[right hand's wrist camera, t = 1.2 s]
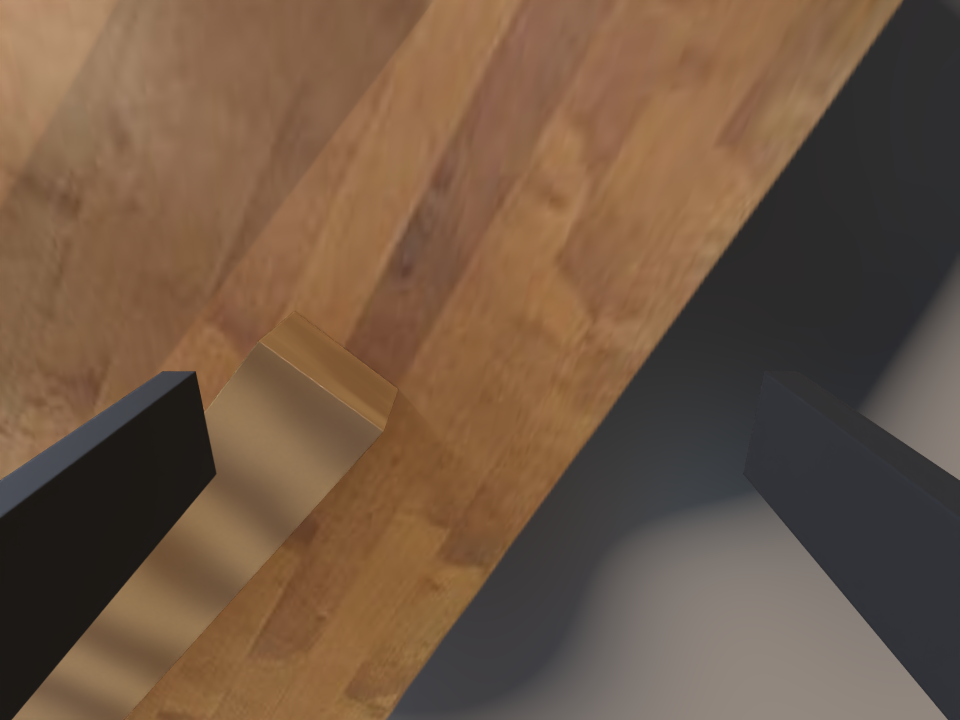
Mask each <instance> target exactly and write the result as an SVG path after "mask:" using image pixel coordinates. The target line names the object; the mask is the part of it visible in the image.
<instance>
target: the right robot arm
mask: <svg viewBox="0 0 960 720" xmlns="http://www.w3.org/2000/svg"><path fill="white" fill-rule="evenodd" d="M216 474H217V473H216V468H215V463H214V458H213V454H212V449H211V444H210V439H209V434H208V429H207V424H206V419H205V414H204V410H203V405H202V400H201V395H200V390H199V385H198V380H197V375H196V371H162V372H161V373H159V374H158V375H156V376H155V377H154V378H152V379H151V380H149V381H148V382H146V383H145V384H143V385H142V386H140V387H139V388H137V389H136V390H134V391H133V392H131V393H130V394H128V395H127V396H125V397H124V398H122V399H121V400H119V401H118V402H116V403H115V404H113V405H112V406H110V407H109V408H107V409H106V410H104V411H103V412H101V413H100V414H98V415H97V416H96V417H94V418H93V419H91V420H90V421H88V422H87V423H85V424H84V425H82V426H81V427H79V428H78V429H76V430H75V431H73V432H72V433H70V434H69V435H67V436H66V437H64V438H63V439H61V440H60V441H58V442H57V443H55V444H54V445H52V446H51V447H49V448H48V449H46V450H45V451H43V452H42V453H40V454H39V455H37V456H36V457H35V458H33V459H32V460H30V461H29V462H27V463H26V464H24V465H23V466H21V467H20V468H18V469H17V470H15V471H14V472H12V473H11V474H9V475H8V476H6V477H5V478H3V479H2V480H0V720H12V719H13V718H14V717H15V715H16V714H17V713H18V712H19V711H20V709H21V708H22V707H23V706H24V705H25V703H26V702H27V701H28V700H29V699H30V697H31V696H32V695H33V694H34V693H35V691H36V690H37V689H38V688H39V687H40V685H41V684H42V683H43V682H44V681H45V679H46V678H47V677H48V676H49V675H50V673H51V672H52V671H53V670H54V669H55V667H56V666H57V665H58V664H59V663H60V661H61V660H62V659H63V658H64V657H65V655H66V654H67V653H68V652H69V651H70V649H71V648H72V647H73V646H74V645H75V643H76V642H77V641H78V640H79V639H80V637H81V636H82V635H83V634H84V633H85V631H86V630H87V629H88V628H89V627H90V625H91V624H92V623H93V622H94V621H95V619H96V618H97V617H98V616H99V615H100V613H101V612H102V611H103V610H104V609H105V607H106V606H107V605H108V604H109V603H110V601H111V600H112V599H113V598H114V597H115V595H116V594H117V593H118V592H119V591H120V589H121V588H122V587H123V586H124V585H125V583H126V582H127V581H128V580H129V579H130V577H131V576H132V575H133V574H134V573H135V571H136V570H137V569H138V568H139V567H140V565H141V564H142V563H143V562H144V561H145V559H146V558H147V557H148V556H149V555H150V553H151V552H152V551H153V550H154V549H155V547H156V546H157V545H158V544H159V543H160V541H161V540H162V539H163V538H164V537H165V535H166V534H167V533H168V532H169V531H170V529H171V528H172V527H173V526H174V525H175V523H176V522H177V521H178V520H179V519H180V517H181V516H182V515H183V514H184V513H185V511H186V510H187V509H188V508H189V507H190V505H191V504H192V503H193V502H194V501H195V499H196V498H197V497H198V496H199V495H200V493H201V492H202V491H203V490H204V489H205V487H206V486H207V485H208V484H209V483H210V481H211V480H212V479H213V478H214V477H215V475H216ZM743 474H744V475H745V477H746V478H747V479H748V480H749V481H750V483H751V484H752V485H753V486H754V487H755V489H756V490H757V491H758V492H759V493H760V495H761V496H762V497H763V498H764V499H765V501H766V502H767V503H768V504H769V505H770V507H771V508H772V509H773V510H774V511H775V513H776V514H777V515H778V516H779V517H780V519H781V520H782V521H783V522H784V523H785V525H786V526H787V527H788V528H789V529H790V531H791V532H792V533H793V534H794V535H795V537H796V538H797V539H798V540H799V541H800V543H801V544H802V545H803V546H804V547H805V549H806V550H807V551H808V552H809V553H810V555H811V556H812V557H813V558H814V559H815V561H816V562H817V563H818V564H819V565H820V567H821V568H822V569H823V570H824V571H825V573H826V574H827V575H828V576H829V577H830V579H831V580H832V581H833V582H834V583H835V585H836V586H837V587H838V588H839V589H840V591H841V592H842V593H843V594H844V595H845V597H846V598H847V599H848V600H849V601H850V603H851V604H852V605H853V606H854V607H855V609H856V610H857V611H858V612H859V613H860V615H861V616H862V617H863V618H864V619H865V621H866V622H867V623H868V624H869V625H870V627H871V628H872V629H873V630H874V631H875V633H876V634H877V635H878V636H879V637H880V639H881V640H882V641H883V642H884V643H885V645H886V646H887V647H888V648H889V649H890V651H891V652H892V653H893V654H894V655H895V657H896V658H897V659H898V660H899V661H900V663H901V664H902V665H903V666H904V667H905V669H906V670H907V671H908V672H909V673H910V675H911V676H912V677H913V678H914V679H915V681H916V682H917V683H918V684H919V685H920V687H921V688H922V689H923V690H924V691H925V693H926V694H927V695H928V696H929V697H930V699H931V700H932V701H933V702H934V703H935V705H936V706H937V707H938V708H939V709H940V711H941V712H942V713H943V714H944V715H945V717H946V718H947V719H948V720H960V480H958V479H957V478H955V477H954V476H952V475H951V474H949V473H948V472H946V471H945V470H943V469H942V468H940V467H939V466H937V465H936V464H934V463H933V462H931V461H930V460H928V459H927V458H925V457H924V456H923V455H921V454H920V453H918V452H917V451H915V450H914V449H912V448H911V447H909V446H908V445H906V444H905V443H903V442H902V441H900V440H899V439H897V438H896V437H894V436H893V435H891V434H890V433H888V432H887V431H885V430H884V429H882V428H881V427H879V426H878V425H876V424H875V423H873V422H872V421H870V420H869V419H867V418H866V417H864V416H863V415H861V414H860V413H859V412H857V411H856V410H854V409H853V408H851V407H850V406H848V405H847V404H845V403H844V402H842V401H841V400H839V399H838V398H836V397H835V396H833V395H832V394H830V393H829V392H827V391H826V390H824V389H823V388H821V387H820V386H818V385H817V384H815V383H814V382H812V381H811V380H809V379H808V378H806V377H805V376H804V375H802V374H800V373H799V372H797V371H765V372H764V375H763V380H762V385H761V390H760V395H759V400H758V405H757V410H756V414H755V419H754V424H753V429H752V434H751V439H750V444H749V449H748V454H747V458H746V464H745V468H744V473H743Z"/></svg>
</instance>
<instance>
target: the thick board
mask: <svg viewBox="0 0 960 720" xmlns="http://www.w3.org/2000/svg"><path fill="white" fill-rule="evenodd" d="M397 392H398V389H397V388H396V387H395V386H393V385H392V384H391V383H389V382H388V381H387V380H385V379H384V378H383V377H381V376H380V375H379V374H377V373H376V372H375V371H373V370H372V369H371V368H369V367H368V366H367V365H365V364H364V363H363V362H361V361H360V360H359V359H357V358H356V357H355V356H353V355H352V354H351V353H349V352H348V351H347V350H345V349H344V348H343V347H341V346H340V345H339V344H338V343H336V342H335V341H334V340H332V339H331V338H330V337H328V336H327V335H326V334H324V333H323V332H322V331H320V330H319V329H318V328H316V327H315V326H314V325H312V324H311V323H310V322H308V321H307V320H306V319H304V318H303V317H302V316H300V315H299V314H298V313H296V312H295V311H294V312H293V313H292V314H291V315H289V316H288V317H287V318H286V319H285V320H283V321H282V322H281V323H280V324H278V325H277V326H276V327H275V328H274V329H272V330H271V331H270V332H269V333H268V334H266V335H265V336H264V337H263V338H262V339H260V340H259V341H258V342H257V344H256V345H255V346H254V348H253V349H252V350H251V352H250V353H249V354H248V356H247V357H246V358H245V360H244V361H243V362H242V364H241V365H240V366H239V368H238V369H237V370H236V372H235V373H234V374H233V376H232V377H231V378H230V379H229V381H228V382H227V383H226V385H225V386H224V387H223V389H222V390H221V391H220V393H219V394H218V395H217V397H216V398H215V399H214V401H213V402H212V403H211V405H210V406H209V407H208V409H207V410H206V411H205V413H204V414H205V419H206V424H207V429H208V434H209V439H210V444H211V449H212V454H213V458H214V463H215V468H216V473H217V474H216V475H215V477H214V478H213V479H212V480H211V481H210V483H209V484H208V485H207V486H206V487H205V489H204V490H203V491H202V492H201V493H200V495H199V496H198V497H197V498H196V499H195V501H194V502H193V503H192V504H191V505H190V507H189V508H188V509H187V510H186V511H185V513H184V514H183V515H182V516H181V517H180V519H179V520H178V521H177V522H176V523H175V525H174V526H173V527H172V528H171V529H170V531H169V532H168V533H167V534H166V535H165V537H164V538H163V539H162V540H161V541H160V543H159V544H158V545H157V546H156V547H155V549H154V550H153V551H152V552H151V553H150V555H149V556H148V557H147V558H146V559H145V561H144V562H143V563H142V564H141V565H140V567H139V568H138V569H137V570H136V571H135V573H134V574H133V575H132V576H131V577H130V579H129V580H128V581H127V582H126V583H125V585H124V586H123V587H122V588H121V589H120V591H119V592H118V593H117V594H116V595H115V597H114V598H113V599H112V600H111V601H110V603H109V604H108V605H107V606H106V607H105V609H104V610H103V611H102V612H101V613H100V615H99V616H98V617H97V618H96V619H95V621H94V622H93V623H92V624H91V625H90V627H89V628H88V629H87V630H86V631H85V633H84V634H83V635H82V636H81V637H80V639H79V640H78V641H77V642H76V643H75V645H74V646H73V647H72V648H71V649H70V651H69V652H68V653H67V654H66V655H65V657H64V658H63V659H62V660H61V661H60V663H59V664H58V665H57V666H56V667H55V669H54V670H53V671H52V672H51V673H50V675H49V676H48V677H47V678H46V679H45V681H44V682H43V683H42V684H41V685H40V687H39V688H38V689H37V690H36V691H35V693H34V694H33V695H32V696H31V697H30V699H29V700H28V701H27V702H26V703H25V705H24V706H23V707H22V708H21V709H20V711H19V712H18V713H17V714H16V715H15V717H14V718H13V719H12V720H124V719H125V718H126V717H127V716H128V715H129V714H130V713H131V711H132V710H133V709H134V708H135V707H136V706H137V705H138V704H139V703H140V701H141V700H142V699H143V698H144V697H145V696H146V695H147V694H148V693H149V691H150V690H151V689H152V688H153V687H154V686H155V685H156V684H157V683H158V681H159V680H160V679H161V678H162V677H163V676H164V675H165V674H166V673H167V672H168V670H169V669H170V668H171V667H172V666H173V665H174V664H175V663H176V662H177V660H178V659H179V658H180V657H181V656H182V655H183V654H184V653H185V652H186V650H187V649H188V648H189V647H190V646H191V645H192V644H193V643H194V642H195V640H196V639H197V638H198V637H199V636H200V635H201V634H202V633H203V632H204V630H205V629H206V628H207V627H208V626H209V625H210V624H211V623H212V622H213V620H214V619H215V618H216V617H217V616H218V615H219V614H220V613H221V612H222V610H223V609H224V608H225V607H226V606H227V605H228V604H229V603H230V602H231V601H232V599H233V598H234V597H235V596H236V595H237V594H238V593H239V592H240V591H241V589H242V588H243V587H244V586H245V585H246V584H247V583H248V582H249V581H250V579H251V578H252V577H253V576H254V575H255V574H256V573H257V572H258V571H259V569H260V568H261V567H262V566H263V565H264V564H265V563H266V562H267V561H268V559H269V558H270V557H271V556H272V555H273V554H274V553H275V552H276V551H277V549H278V548H279V547H280V546H281V545H282V544H283V543H284V542H285V541H286V540H287V538H288V537H289V536H290V535H291V534H292V533H293V532H294V531H295V530H296V528H297V527H298V526H299V525H300V524H301V523H302V522H303V521H304V520H305V518H306V517H307V516H308V515H309V514H310V513H311V512H312V511H313V510H314V508H315V507H316V506H317V505H318V504H319V503H320V502H321V501H322V500H323V498H324V497H325V496H326V495H327V494H328V493H329V492H330V491H331V490H332V488H333V487H334V486H335V485H336V484H337V483H338V482H339V481H340V480H341V478H342V477H343V476H344V475H345V474H346V473H347V472H348V471H349V470H350V469H351V467H352V466H353V465H354V464H355V463H356V462H357V461H358V460H359V459H360V457H361V456H362V455H363V454H364V453H365V452H366V451H367V450H368V449H369V447H370V446H371V445H372V444H373V443H374V442H375V441H376V440H377V439H378V437H379V436H380V435H381V434H382V433H383V432H384V429H385V426H386V424H387V421H388V418H389V415H390V412H391V409H392V406H393V404H394V401H395V398H396V395H397Z"/></svg>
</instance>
